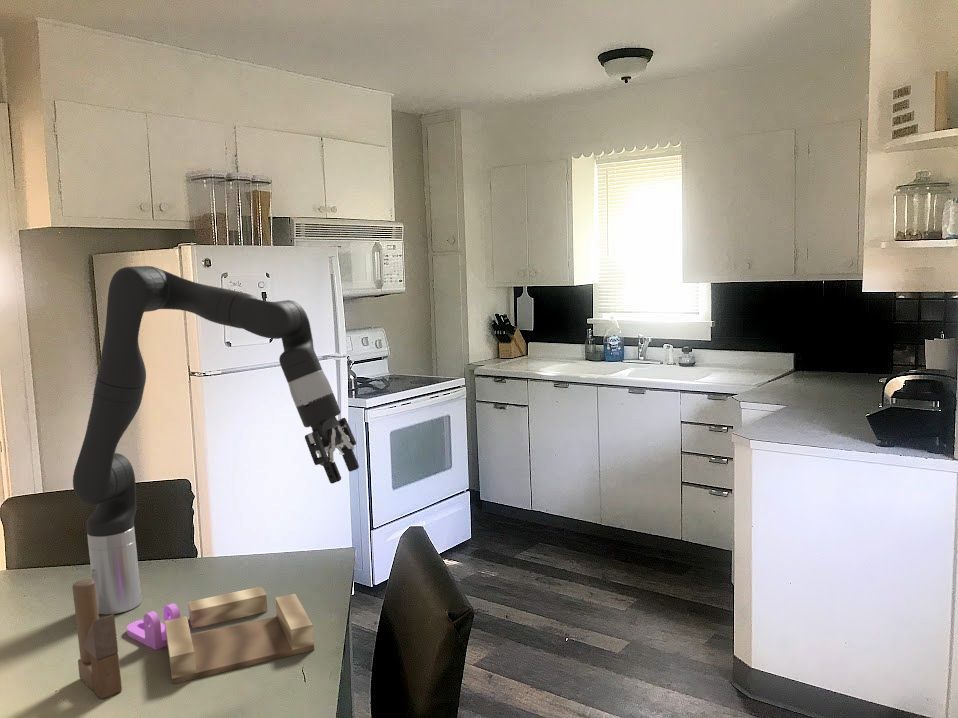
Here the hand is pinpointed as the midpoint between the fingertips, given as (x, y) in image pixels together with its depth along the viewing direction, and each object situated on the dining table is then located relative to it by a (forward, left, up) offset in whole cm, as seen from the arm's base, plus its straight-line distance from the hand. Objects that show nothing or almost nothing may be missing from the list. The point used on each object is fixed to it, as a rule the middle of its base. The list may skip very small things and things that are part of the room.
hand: (345, 475), depth 154 cm
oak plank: (-22, +19, -31) cm, 43 cm away
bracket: (-37, +17, -31) cm, 51 cm away
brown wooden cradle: (-22, +3, -31) cm, 38 cm away
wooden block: (-46, +1, -31) cm, 56 cm away
